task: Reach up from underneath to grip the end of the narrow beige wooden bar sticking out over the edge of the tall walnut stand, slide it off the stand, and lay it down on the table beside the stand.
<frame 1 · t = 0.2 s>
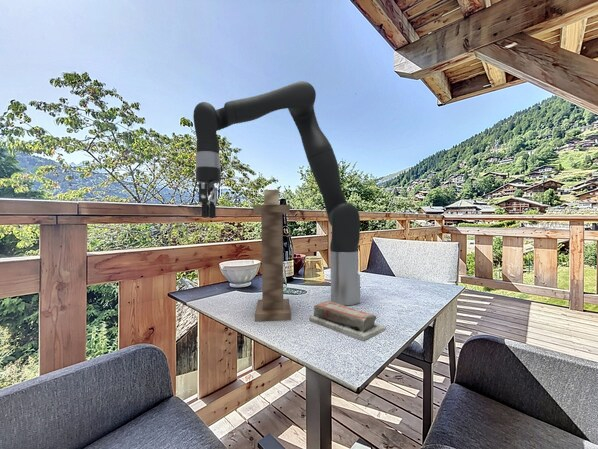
hand: (209, 217, 86), 29 cm above the table, tool pointing down, fingers open, 8 cm apart
stand: (273, 312, 80), on the table
red and grey block: (345, 327, 69), on the table
beige wooden bar: (272, 207, 84), point 32 cm above the table, touching stand
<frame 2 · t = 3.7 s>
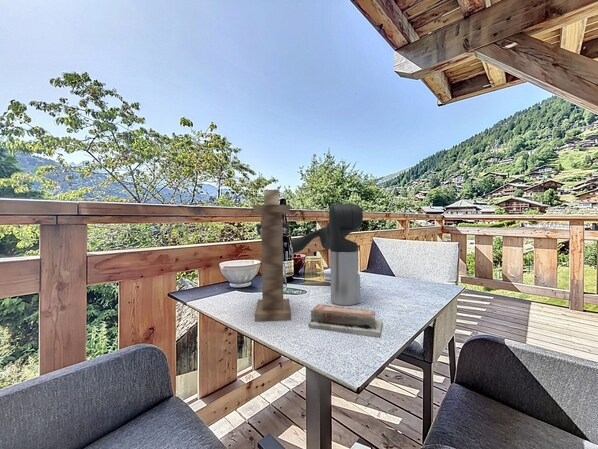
hand: (272, 221, 113), 28 cm above the table, tool pointing upward, fingers open, 8 cm apart
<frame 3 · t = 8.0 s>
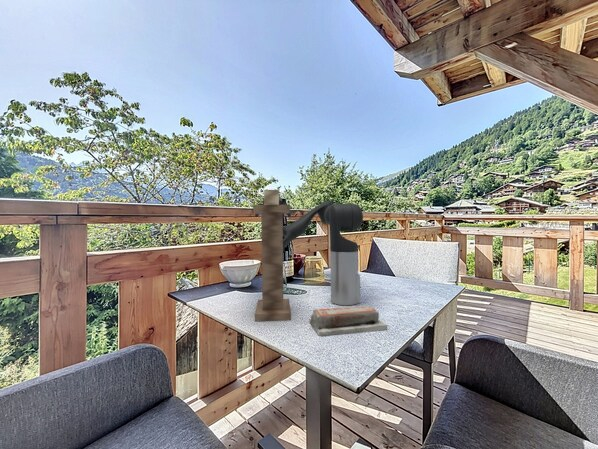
hand: (272, 198, 90), 35 cm above the table, tool pointing upward, fingers closed on beige wooden bar, 4 cm apart
beige wooden bar: (272, 207, 84), point 32 cm above the table, touching gripper, stand
when the fingers open (14 cm above the table, at t = 17.9 s): beige wooden bar drops 8 cm, on the table.
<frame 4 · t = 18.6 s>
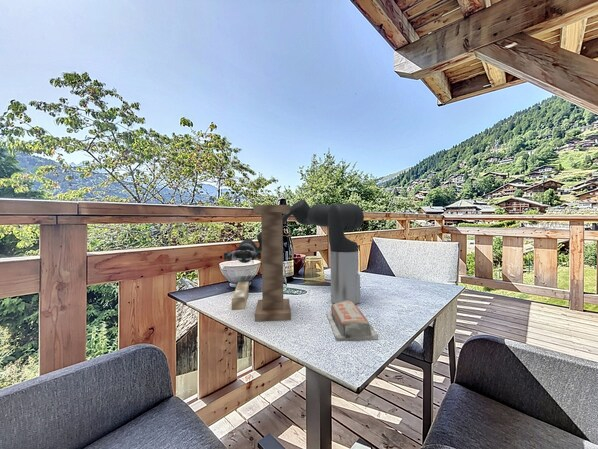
hand: (240, 257, 97), 15 cm above the table, tool horizontal, fingers open, 8 cm apart
beige wooden bar: (241, 299, 95), on the table
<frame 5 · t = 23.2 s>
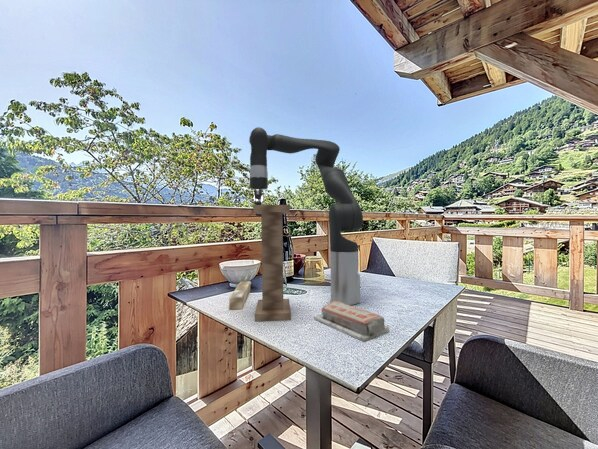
hand: (259, 216, 111), 30 cm above the table, tool pointing down, fingers open, 8 cm apart
at the end: beige wooden bar inside the target area (1.5 cm from its centre), on the table; beige wooden bar touching table; the gripper is holding nothing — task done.
